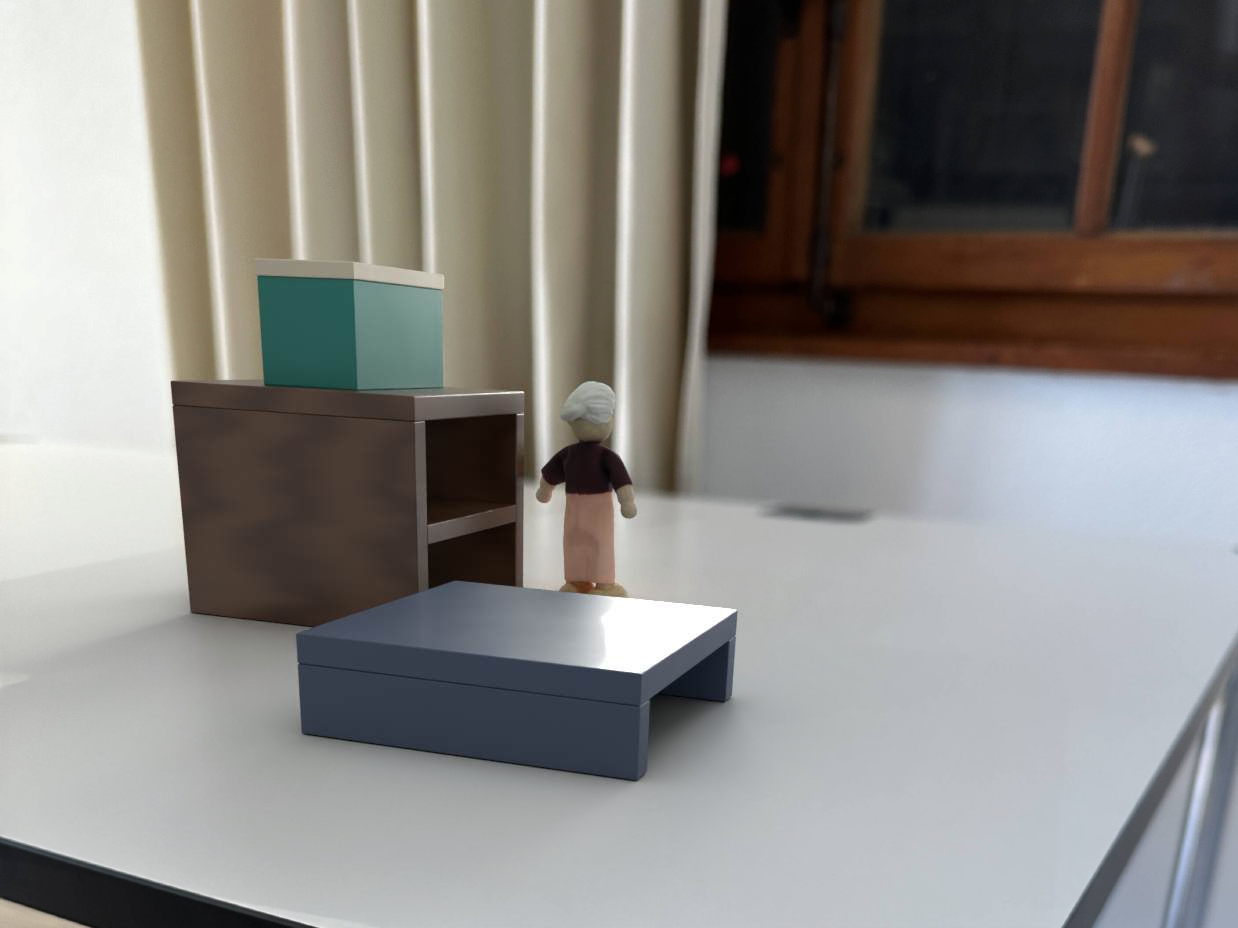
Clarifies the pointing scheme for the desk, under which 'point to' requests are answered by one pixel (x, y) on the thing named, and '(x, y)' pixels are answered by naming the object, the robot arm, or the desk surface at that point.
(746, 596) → the desk surface
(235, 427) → the high shelf
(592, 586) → the grandmother figurine
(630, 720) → the low shelf
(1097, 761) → the desk surface
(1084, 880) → the desk surface
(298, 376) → the box
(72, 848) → the desk surface
